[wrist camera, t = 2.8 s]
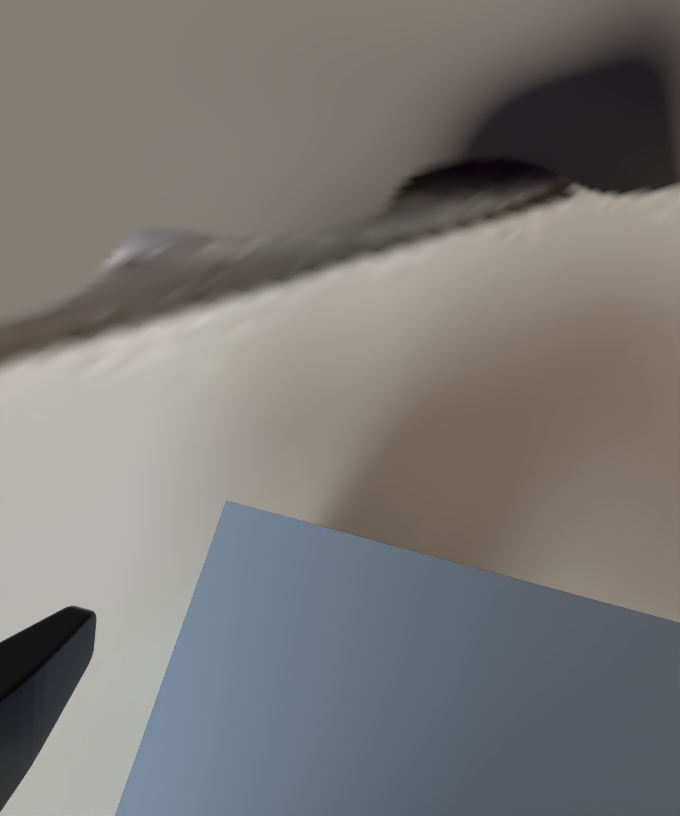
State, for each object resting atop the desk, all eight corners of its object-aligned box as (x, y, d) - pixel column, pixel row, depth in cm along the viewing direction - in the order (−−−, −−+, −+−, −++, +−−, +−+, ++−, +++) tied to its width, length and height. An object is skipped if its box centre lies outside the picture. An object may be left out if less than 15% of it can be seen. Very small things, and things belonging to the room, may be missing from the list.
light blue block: (384, 820, 13) (766, 1545, 3) (221, 774, 14) (-53, 1293, 3) (415, 639, 15) (710, 631, 5) (271, 600, 16) (226, 500, 5)
